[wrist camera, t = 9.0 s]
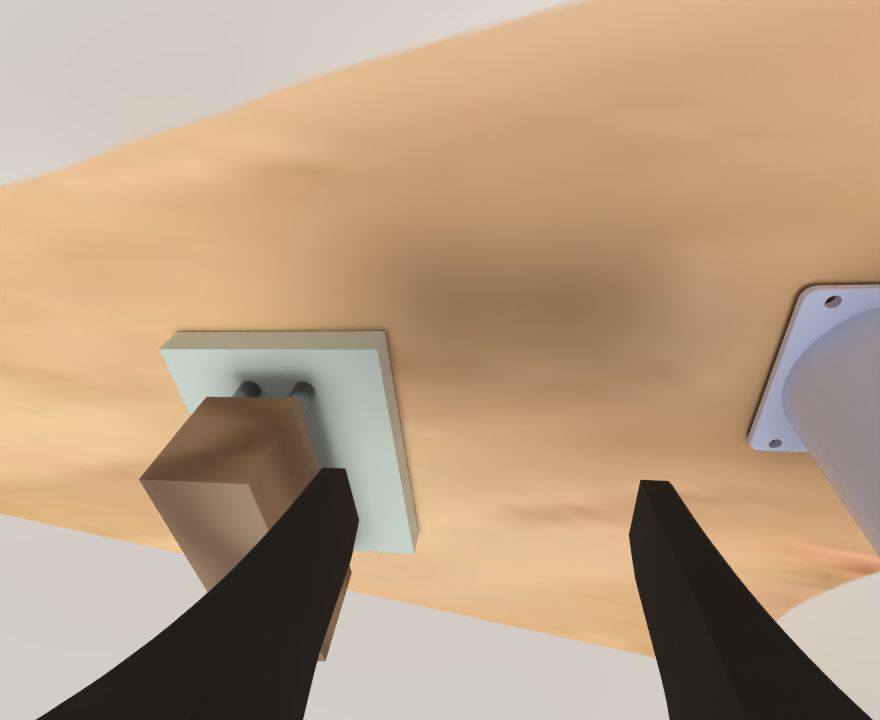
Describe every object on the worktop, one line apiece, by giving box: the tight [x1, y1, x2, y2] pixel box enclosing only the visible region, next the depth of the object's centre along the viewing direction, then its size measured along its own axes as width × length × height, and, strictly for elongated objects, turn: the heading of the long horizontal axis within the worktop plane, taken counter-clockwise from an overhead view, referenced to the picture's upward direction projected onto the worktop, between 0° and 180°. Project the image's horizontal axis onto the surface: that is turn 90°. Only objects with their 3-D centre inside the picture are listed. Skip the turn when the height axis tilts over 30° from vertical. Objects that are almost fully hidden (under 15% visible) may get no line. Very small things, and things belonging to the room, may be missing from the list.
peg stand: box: [159, 331, 418, 554], centre depth 25 cm, size 10×14×4 cm
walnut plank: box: [139, 397, 352, 661], centre depth 22 cm, size 4×12×4 cm, turn 5°
